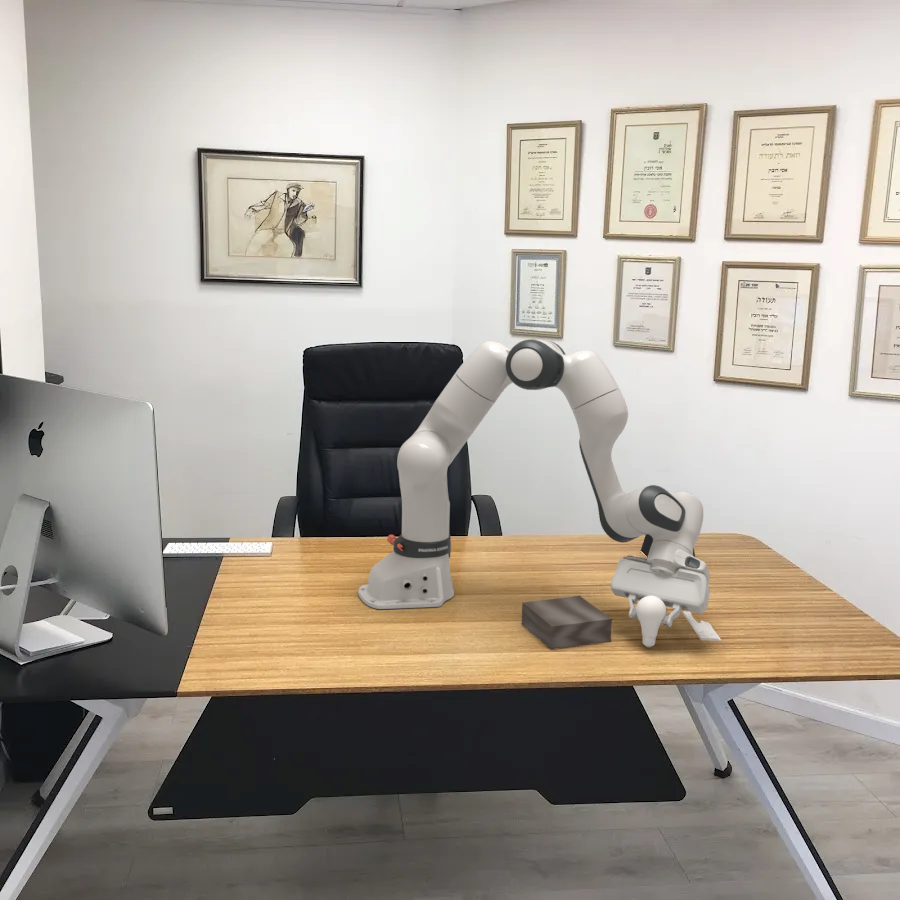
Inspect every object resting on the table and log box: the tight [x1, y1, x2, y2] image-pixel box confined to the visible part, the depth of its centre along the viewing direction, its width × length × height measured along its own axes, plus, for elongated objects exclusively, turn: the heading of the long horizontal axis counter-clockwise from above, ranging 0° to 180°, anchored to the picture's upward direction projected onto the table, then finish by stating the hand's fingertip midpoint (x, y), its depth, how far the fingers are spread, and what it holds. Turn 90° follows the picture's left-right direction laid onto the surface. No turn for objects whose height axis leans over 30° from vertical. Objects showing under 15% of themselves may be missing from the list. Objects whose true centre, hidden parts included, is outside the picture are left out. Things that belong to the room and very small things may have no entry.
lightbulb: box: [635, 596, 667, 648], centre depth 192 cm, size 6×6×11 cm
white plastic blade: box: [682, 610, 722, 642], centre depth 204 cm, size 5×15×1 cm, turn 0°
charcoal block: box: [521, 595, 613, 650], centre depth 198 cm, size 14×14×5 cm
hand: (649, 621), depth 191 cm, fingers closed on lightbulb, 6 cm apart
